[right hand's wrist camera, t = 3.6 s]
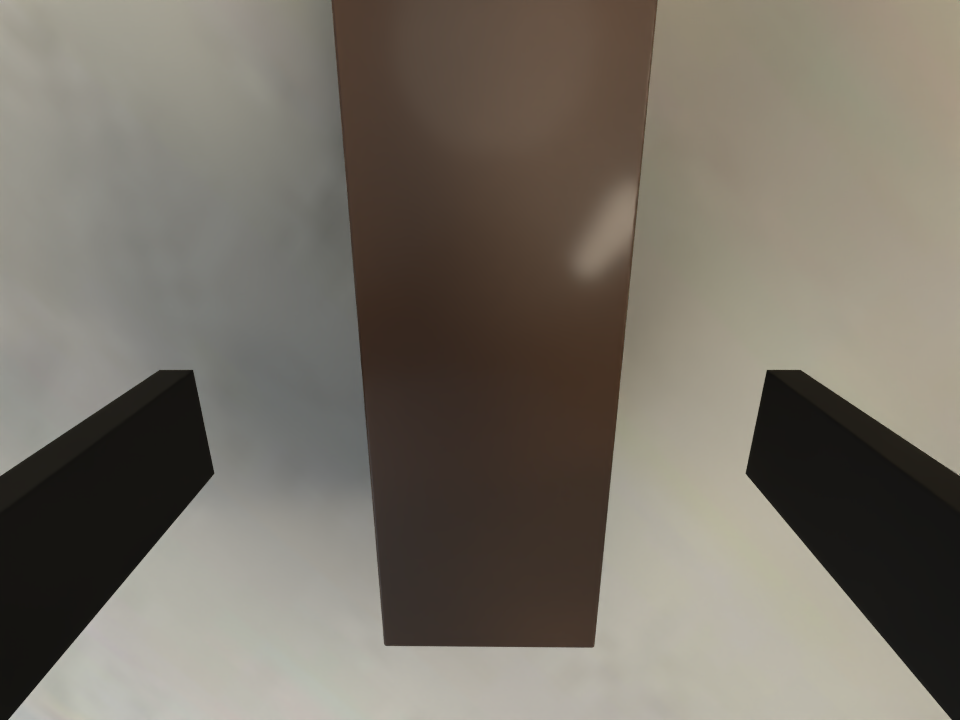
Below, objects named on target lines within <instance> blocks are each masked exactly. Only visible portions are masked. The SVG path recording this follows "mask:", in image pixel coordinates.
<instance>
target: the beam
mask: <svg viewBox="0 0 960 720" xmlns="http://www.w3.org/2000/svg"><path fill="white" fill-rule="evenodd" d="M331 1H332V13H333V26H334V38H335V50H336V62H337V74H338V87H339V99H340V111H341V123H342V135H343V148H344V160H345V172H346V184H347V196H348V209H349V221H350V233H351V245H352V257H353V270H354V282H355V294H356V306H357V318H358V331H359V343H360V355H361V367H362V379H363V392H364V404H365V416H366V428H367V440H368V453H369V465H370V477H371V489H372V501H373V514H374V526H375V538H376V550H377V562H378V575H379V587H380V599H381V611H382V623H383V636H384V644H385V646H468V647H588V648H592V647H594V644H595V633H596V623H597V613H598V603H599V593H600V582H601V572H602V562H603V552H604V542H605V531H606V521H607V511H608V501H609V491H610V480H611V470H612V460H613V450H614V440H615V429H616V419H617V409H618V399H619V389H620V378H621V368H622V358H623V348H624V338H625V327H626V317H627V307H628V297H629V287H630V277H631V266H632V256H633V246H634V236H635V226H636V215H637V205H638V195H639V185H640V175H641V164H642V154H643V144H644V134H645V124H646V113H647V103H648V93H649V83H650V73H651V62H652V52H653V42H654V32H655V22H656V11H657V1H658V0H331Z"/></svg>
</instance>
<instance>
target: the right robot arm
mask: <svg viewBox="0 0 960 720" xmlns="http://www.w3.org/2000/svg"><path fill="white" fill-rule="evenodd" d="M213 475H214V470H213V465H212V460H211V455H210V450H209V445H208V440H207V435H206V431H205V426H204V421H203V416H202V411H201V406H200V401H199V396H198V392H197V387H196V382H195V377H194V372H193V370H159V371H157V372H156V373H154V374H153V375H151V376H150V377H148V378H147V379H145V380H144V381H142V382H141V383H139V384H138V385H136V386H135V387H133V388H132V389H130V390H129V391H127V392H126V393H124V394H123V395H121V396H120V397H118V398H117V399H115V400H114V401H112V402H111V403H109V404H108V405H106V406H105V407H103V408H102V409H100V410H99V411H97V412H96V413H94V414H93V415H91V416H90V417H88V418H87V419H85V420H84V421H82V422H81V423H79V424H78V425H76V426H75V427H73V428H72V429H70V430H69V431H67V432H66V433H64V434H63V435H61V436H60V437H58V438H57V439H55V440H54V441H52V442H51V443H49V444H48V445H46V446H45V447H43V448H42V449H40V450H39V451H37V452H36V453H34V454H33V455H31V456H30V457H28V458H27V459H25V460H24V461H22V462H21V463H19V464H18V465H16V466H15V467H13V468H12V469H10V470H9V471H7V472H6V473H4V474H3V475H1V476H0V720H8V719H9V718H10V717H11V716H12V715H13V713H14V712H15V711H16V710H17V709H18V707H19V706H20V705H21V704H22V703H23V701H24V700H25V699H26V698H27V697H28V695H29V694H30V693H31V692H32V691H33V689H34V688H35V687H36V686H37V685H38V683H39V682H40V681H41V680H42V679H43V678H44V676H45V675H46V674H47V673H48V672H49V670H50V669H51V668H52V667H53V666H54V664H55V663H56V662H57V661H58V660H59V658H60V657H61V656H62V655H63V654H64V652H65V651H66V650H67V649H68V648H69V646H70V645H71V644H72V643H73V642H74V641H75V639H76V638H77V637H78V636H79V635H80V633H81V632H82V631H83V630H84V629H85V627H86V626H87V625H88V624H89V623H90V621H91V620H92V619H93V618H94V617H95V615H96V614H97V613H98V612H99V611H100V609H101V608H102V607H103V606H104V605H105V604H106V602H107V601H108V600H109V599H110V598H111V596H112V595H113V594H114V593H115V592H116V590H117V589H118V588H119V587H120V586H121V584H122V583H123V582H124V581H125V580H126V578H127V577H128V576H129V575H130V574H131V572H132V571H133V570H134V569H135V568H136V567H137V565H138V564H139V563H140V562H141V561H142V559H143V558H144V557H145V556H146V555H147V553H148V552H149V551H150V550H151V549H152V547H153V546H154V545H155V544H156V543H157V541H158V540H159V539H160V538H161V537H162V535H163V534H164V533H165V532H166V531H167V530H168V528H169V527H170V526H171V525H172V524H173V522H174V521H175V520H176V519H177V518H178V516H179V515H180V514H181V513H182V512H183V510H184V509H185V508H186V507H187V506H188V504H189V503H190V502H191V501H192V500H193V498H194V497H195V496H196V495H197V494H198V493H199V491H200V490H201V489H202V488H203V487H204V485H205V484H206V483H207V482H208V481H209V479H210V478H211V477H212V476H213ZM746 475H747V476H748V477H749V478H750V479H751V481H752V482H753V483H754V484H755V485H756V487H757V488H758V489H759V490H760V491H761V493H762V494H763V495H764V496H765V497H766V498H767V500H768V501H769V502H770V503H771V504H772V506H773V507H774V508H775V509H776V510H777V512H778V513H779V514H780V515H781V516H782V518H783V519H784V520H785V521H786V522H787V524H788V525H789V526H790V527H791V528H792V530H793V531H794V532H795V533H796V534H797V535H798V537H799V538H800V539H801V540H802V541H803V543H804V544H805V545H806V546H807V547H808V549H809V550H810V551H811V552H812V553H813V555H814V556H815V557H816V558H817V559H818V561H819V562H820V563H821V564H822V565H823V567H824V568H825V569H826V570H827V571H828V572H829V574H830V575H831V576H832V577H833V578H834V580H835V581H836V582H837V583H838V584H839V586H840V587H841V588H842V589H843V590H844V592H845V593H846V594H847V595H848V596H849V598H850V599H851V600H852V601H853V602H854V604H855V605H856V606H857V607H858V608H859V609H860V611H861V612H862V613H863V614H864V615H865V617H866V618H867V619H868V620H869V621H870V623H871V624H872V625H873V626H874V627H875V629H876V630H877V631H878V632H879V633H880V635H881V636H882V637H883V638H884V639H885V641H886V642H887V643H888V644H889V645H890V646H891V648H892V649H893V650H894V651H895V652H896V654H897V655H898V656H899V657H900V658H901V660H902V661H903V662H904V663H905V664H906V666H907V667H908V668H909V669H910V670H911V672H912V673H913V674H914V675H915V676H916V678H917V679H918V680H919V681H920V682H921V683H922V685H923V686H924V687H925V688H926V689H927V691H928V692H929V693H930V694H931V695H932V697H933V698H934V699H935V700H936V701H937V703H938V704H939V705H940V706H941V707H942V709H943V710H944V711H945V712H946V713H947V715H948V716H949V717H950V718H951V719H952V720H960V476H959V475H957V474H956V473H954V472H953V471H951V470H950V469H948V468H947V467H945V466H944V465H942V464H941V463H939V462H938V461H936V460H935V459H933V458H932V457H930V456H929V455H927V454H926V453H924V452H923V451H921V450H920V449H918V448H917V447H915V446H914V445H912V444H911V443H909V442H908V441H906V440H905V439H903V438H902V437H900V436H899V435H897V434H896V433H894V432H893V431H891V430H890V429H888V428H887V427H885V426H884V425H882V424H881V423H879V422H878V421H876V420H875V419H873V418H872V417H870V416H869V415H867V414H866V413H864V412H863V411H861V410H860V409H858V408H857V407H855V406H854V405H852V404H851V403H849V402H848V401H846V400H845V399H843V398H842V397H840V396H839V395H837V394H836V393H834V392H833V391H831V390H830V389H828V388H827V387H825V386H824V385H822V384H821V383H819V382H818V381H816V380H815V379H813V378H812V377H810V376H809V375H807V374H806V373H804V372H803V371H801V370H767V372H766V377H765V382H764V387H763V392H762V396H761V401H760V406H759V411H758V416H757V421H756V426H755V431H754V435H753V440H752V445H751V450H750V455H749V460H748V465H747V470H746Z"/></svg>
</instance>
